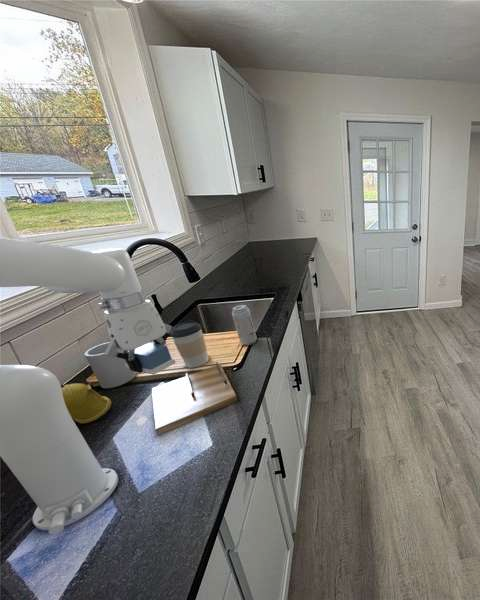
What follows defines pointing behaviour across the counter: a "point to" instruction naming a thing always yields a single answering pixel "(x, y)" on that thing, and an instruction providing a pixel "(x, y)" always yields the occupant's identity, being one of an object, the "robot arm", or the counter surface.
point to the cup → (108, 367)
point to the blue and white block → (153, 358)
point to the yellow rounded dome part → (84, 402)
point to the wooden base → (191, 398)
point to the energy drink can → (244, 325)
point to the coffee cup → (190, 343)
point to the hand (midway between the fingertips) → (150, 364)
